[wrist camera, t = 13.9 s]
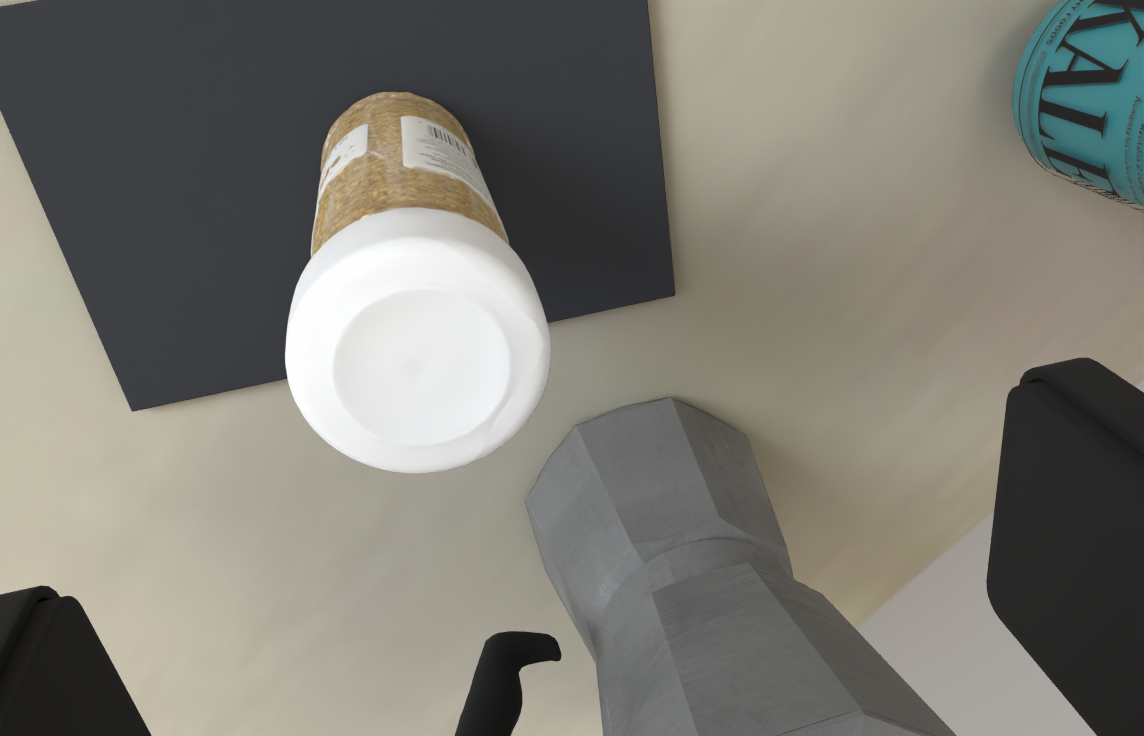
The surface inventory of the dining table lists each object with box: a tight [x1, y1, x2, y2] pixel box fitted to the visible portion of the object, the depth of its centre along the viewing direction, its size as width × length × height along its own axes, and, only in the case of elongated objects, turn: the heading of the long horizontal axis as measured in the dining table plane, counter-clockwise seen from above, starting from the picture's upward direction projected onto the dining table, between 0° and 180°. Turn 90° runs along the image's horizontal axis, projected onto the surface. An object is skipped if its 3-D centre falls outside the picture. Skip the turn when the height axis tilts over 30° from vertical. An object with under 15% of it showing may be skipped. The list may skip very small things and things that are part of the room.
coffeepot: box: [455, 397, 956, 736], centre depth 27 cm, size 15×9×18 cm, turn 80°
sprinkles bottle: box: [285, 92, 551, 473], centre depth 21 cm, size 5×5×13 cm
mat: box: [0, 0, 675, 411], centre depth 27 cm, size 12×18×1 cm, turn 98°
